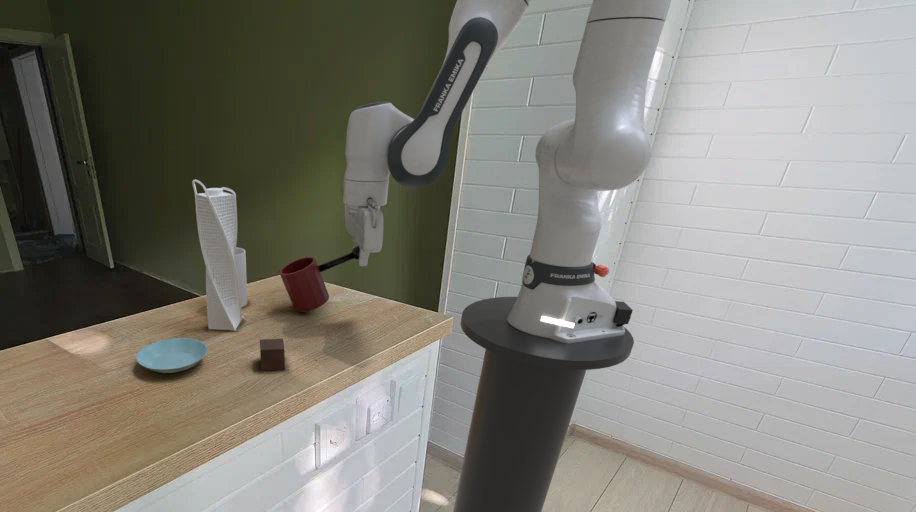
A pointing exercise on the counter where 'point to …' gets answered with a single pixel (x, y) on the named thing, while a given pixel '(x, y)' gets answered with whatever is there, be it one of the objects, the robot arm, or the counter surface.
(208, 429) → the counter surface
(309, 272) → the pot
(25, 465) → the counter surface
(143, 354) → the saucer
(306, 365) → the counter surface
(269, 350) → the block
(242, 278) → the mug
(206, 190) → the skyscraper
